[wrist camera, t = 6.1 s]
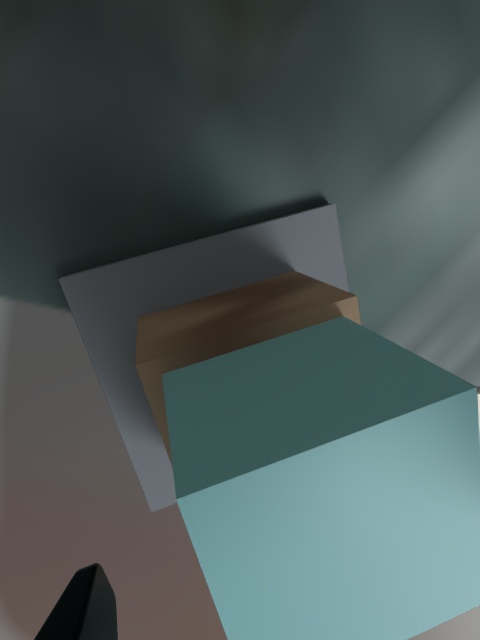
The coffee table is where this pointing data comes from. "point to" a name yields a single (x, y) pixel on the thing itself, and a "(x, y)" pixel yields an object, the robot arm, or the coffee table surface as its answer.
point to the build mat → (176, 289)
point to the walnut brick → (230, 327)
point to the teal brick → (328, 485)
